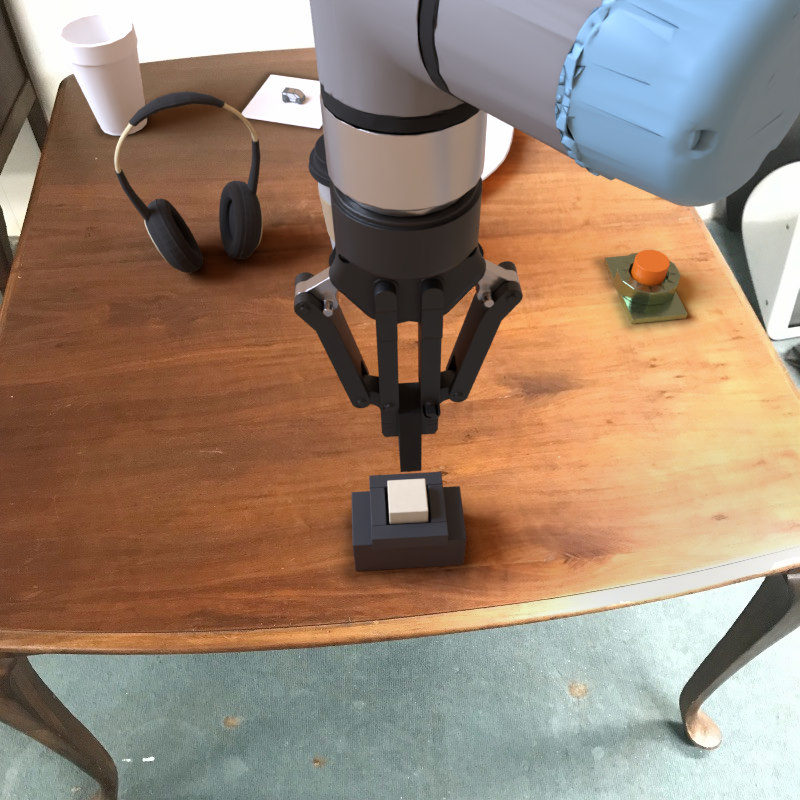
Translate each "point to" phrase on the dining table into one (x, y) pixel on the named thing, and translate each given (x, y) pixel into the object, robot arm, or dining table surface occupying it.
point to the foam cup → (105, 67)
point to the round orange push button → (650, 267)
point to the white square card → (287, 102)
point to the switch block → (645, 292)
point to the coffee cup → (322, 182)
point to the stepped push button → (407, 527)
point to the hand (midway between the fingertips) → (409, 455)
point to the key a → (407, 501)
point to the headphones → (236, 202)
